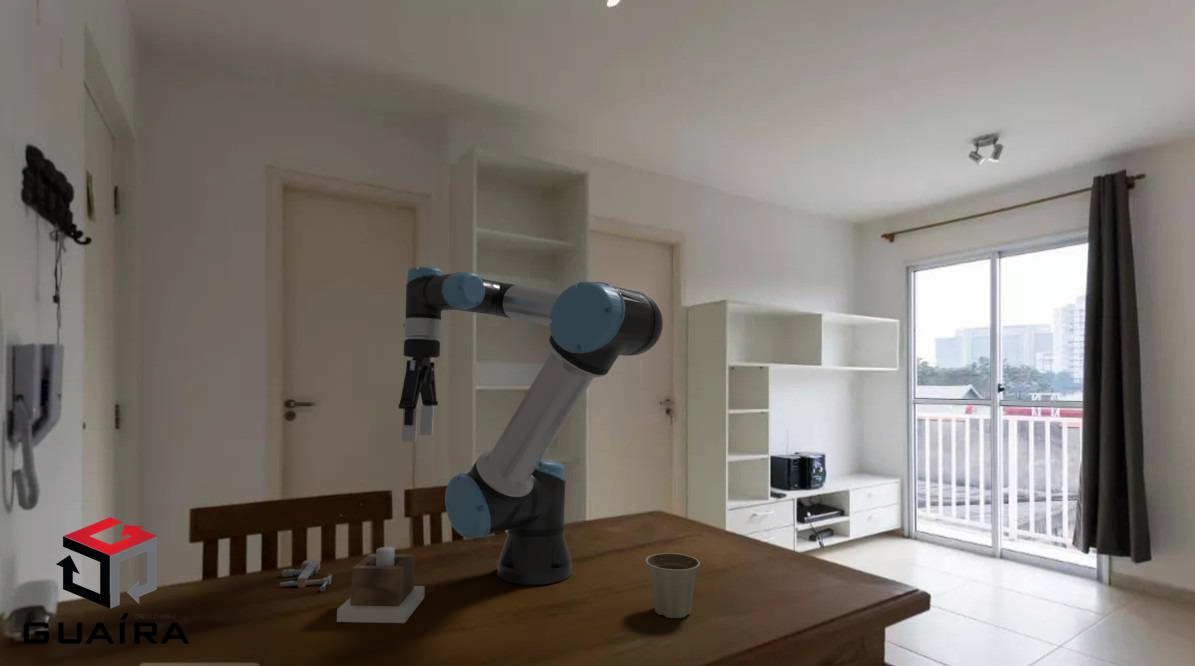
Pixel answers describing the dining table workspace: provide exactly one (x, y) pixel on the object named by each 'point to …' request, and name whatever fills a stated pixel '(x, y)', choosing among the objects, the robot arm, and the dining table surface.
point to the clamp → (306, 575)
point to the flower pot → (672, 583)
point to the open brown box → (382, 581)
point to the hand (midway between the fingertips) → (418, 438)
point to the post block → (382, 612)
